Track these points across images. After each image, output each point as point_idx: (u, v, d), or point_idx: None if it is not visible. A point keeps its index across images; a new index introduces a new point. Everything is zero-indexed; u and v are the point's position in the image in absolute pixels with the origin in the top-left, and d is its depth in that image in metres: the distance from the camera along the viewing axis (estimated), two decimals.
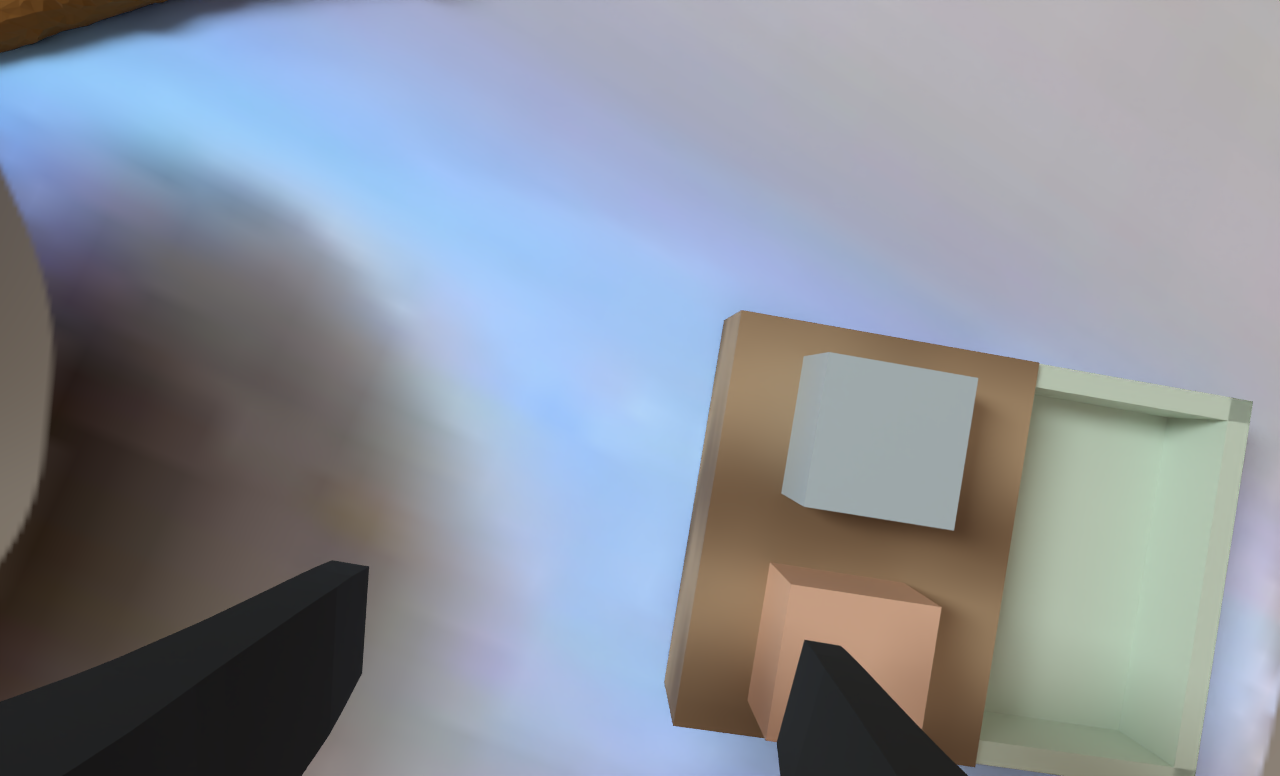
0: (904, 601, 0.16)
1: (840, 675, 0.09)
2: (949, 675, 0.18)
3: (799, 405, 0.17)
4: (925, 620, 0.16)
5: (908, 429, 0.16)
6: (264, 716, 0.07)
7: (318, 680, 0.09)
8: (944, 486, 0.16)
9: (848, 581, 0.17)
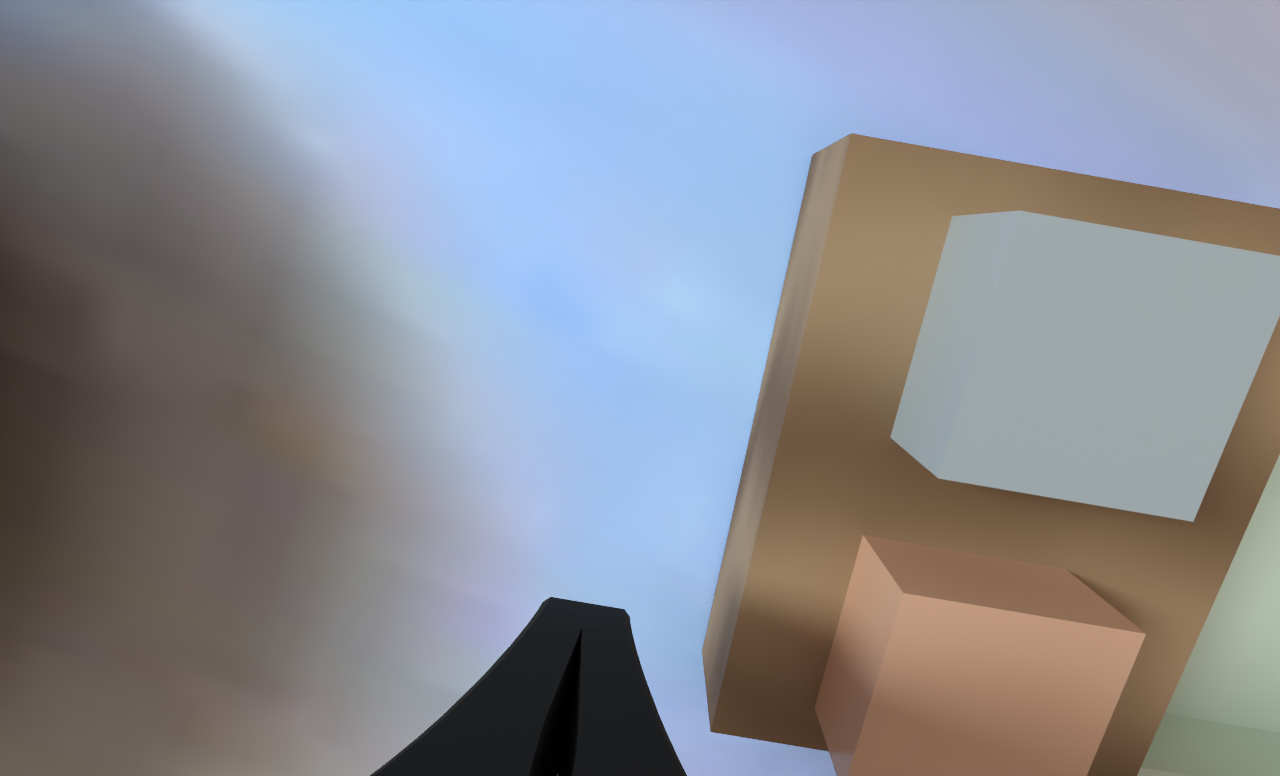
0: (1085, 622, 0.10)
1: (594, 634, 0.09)
2: None
3: (937, 301, 0.10)
4: (1115, 651, 0.10)
5: (1146, 354, 0.09)
6: (547, 763, 0.07)
7: (563, 721, 0.09)
8: (1193, 450, 0.09)
9: (986, 574, 0.11)
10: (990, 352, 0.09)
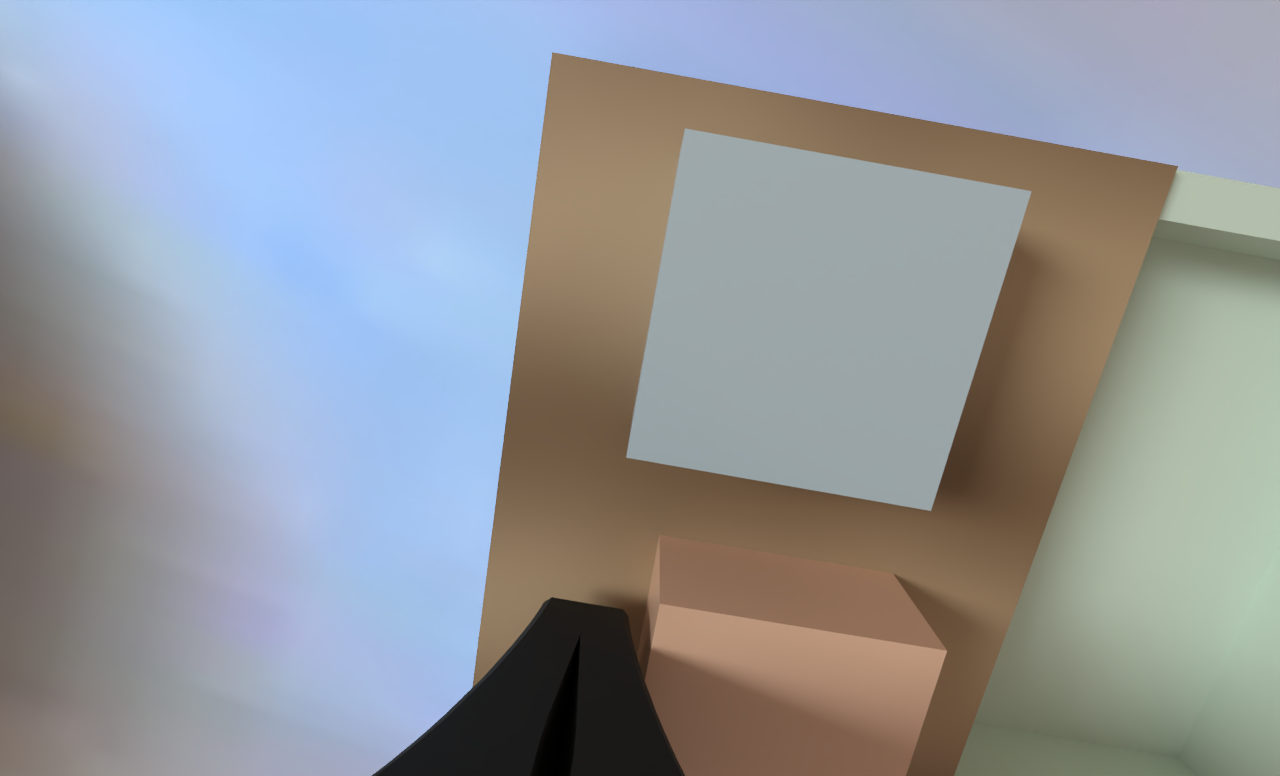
0: (876, 637, 0.08)
1: (592, 634, 0.09)
2: None
3: None
4: (913, 671, 0.08)
5: (855, 307, 0.07)
6: (548, 763, 0.07)
7: (564, 721, 0.09)
8: (921, 425, 0.08)
9: (786, 580, 0.09)
10: (669, 304, 0.07)
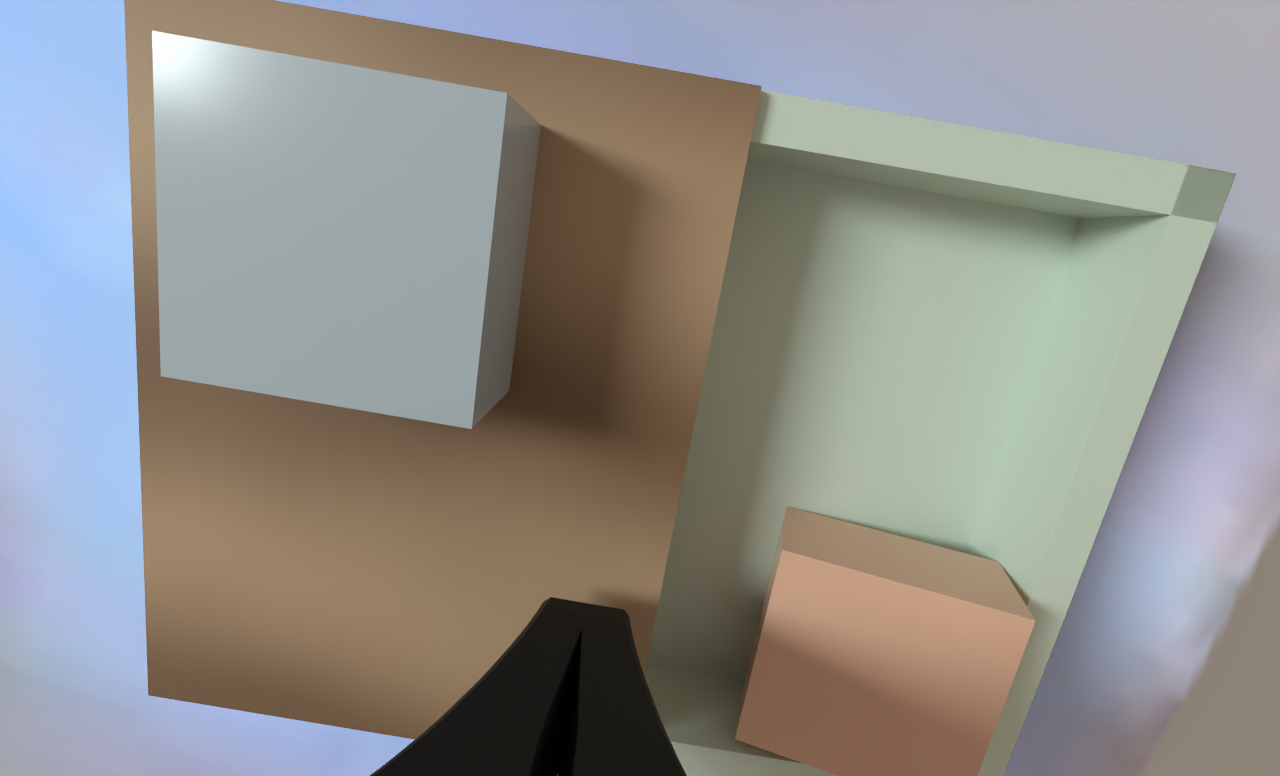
0: (835, 520, 0.12)
1: (594, 634, 0.09)
2: None
3: None
4: None
5: (356, 217, 0.07)
6: (547, 763, 0.07)
7: (563, 721, 0.09)
8: (445, 340, 0.08)
9: (897, 560, 0.11)
10: (172, 215, 0.07)
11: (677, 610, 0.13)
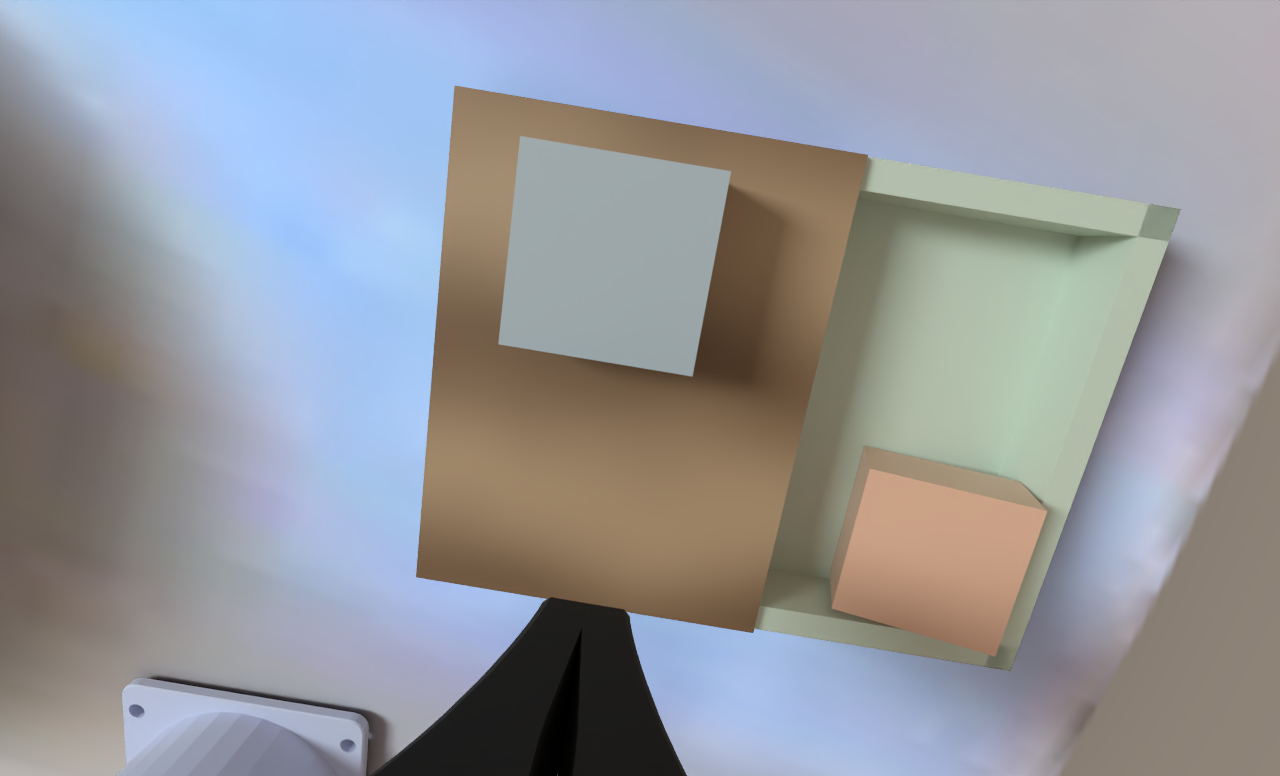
0: (900, 454, 0.17)
1: (594, 634, 0.09)
2: (726, 540, 0.15)
3: None
4: None
5: (632, 245, 0.12)
6: (547, 762, 0.07)
7: (563, 720, 0.09)
8: (680, 320, 0.12)
9: (949, 477, 0.15)
10: (518, 244, 0.12)
11: (780, 524, 0.18)
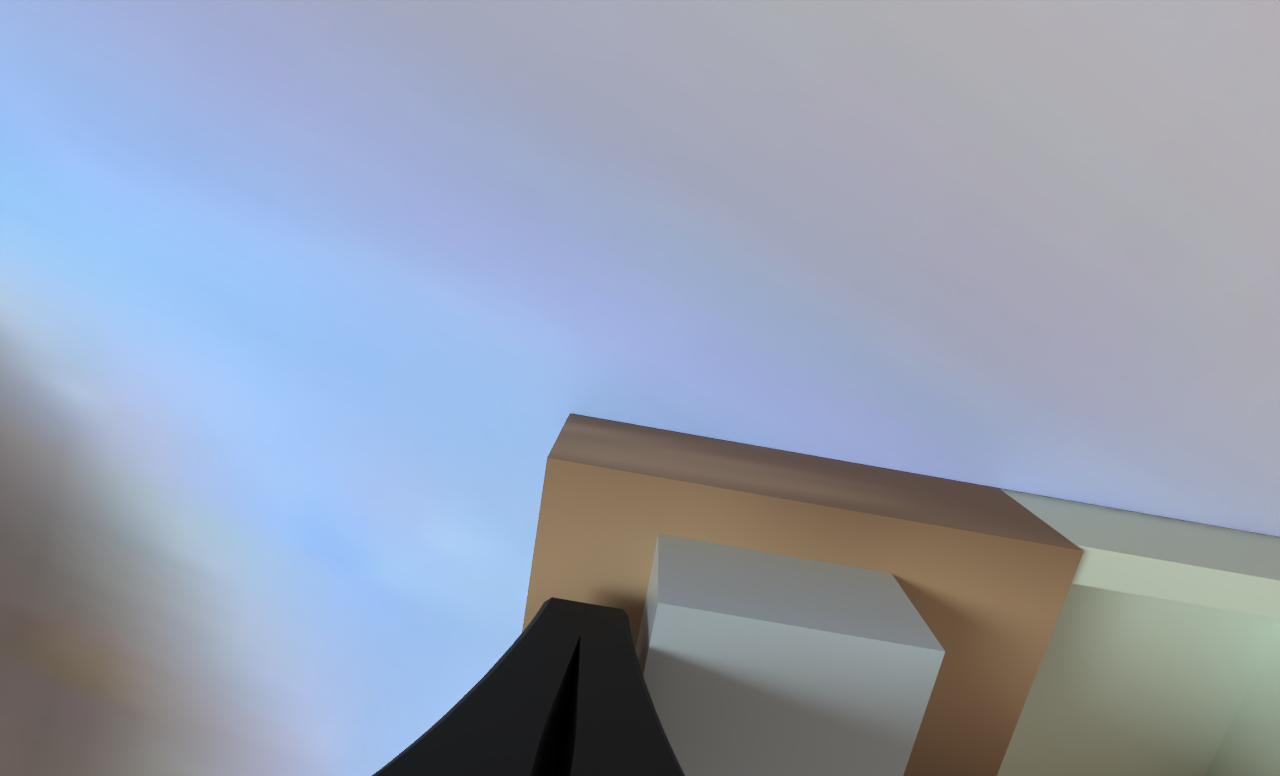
0: None
1: (592, 633, 0.09)
2: None
3: (643, 619, 0.10)
4: None
5: (801, 729, 0.09)
6: (548, 763, 0.07)
7: (564, 721, 0.09)
8: None
9: None
10: None
11: None
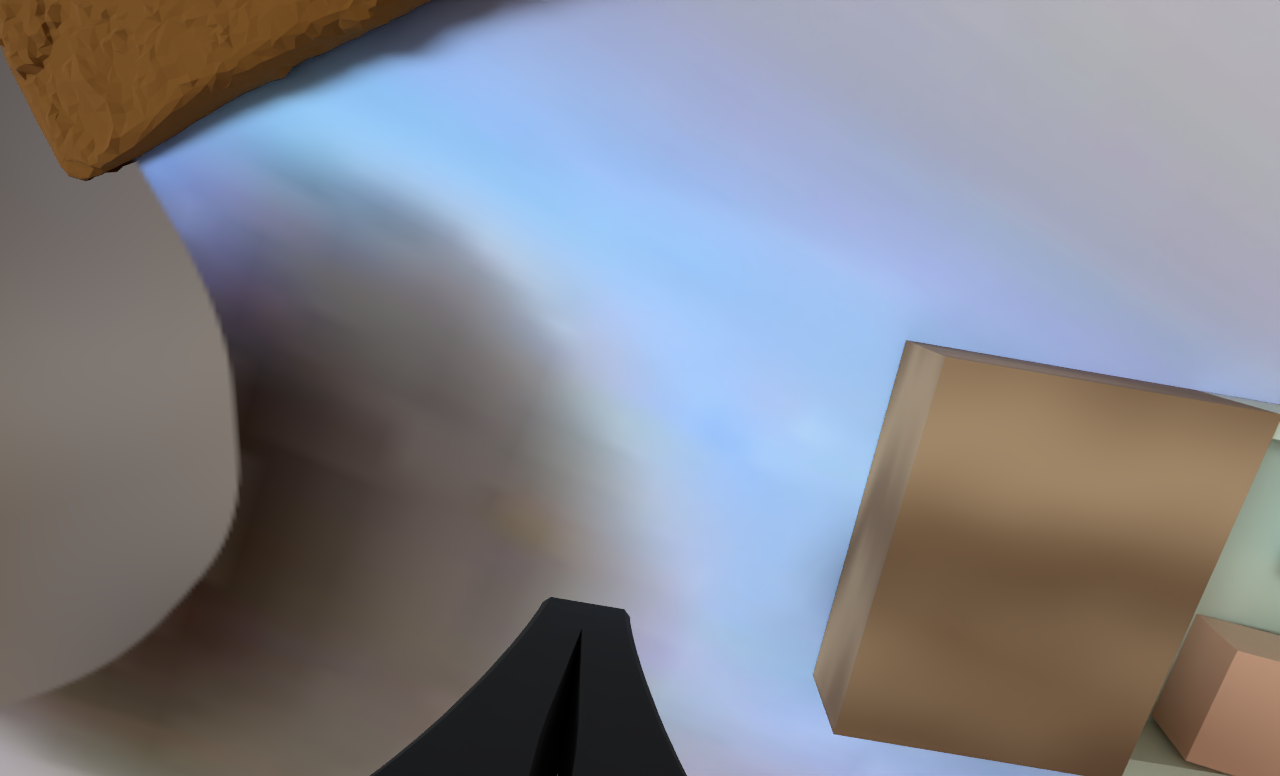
0: (1232, 623, 0.20)
1: (594, 634, 0.09)
2: (1109, 707, 0.18)
3: None
4: None
5: None
6: (547, 763, 0.07)
7: (563, 721, 0.09)
8: None
9: None
10: None
11: None
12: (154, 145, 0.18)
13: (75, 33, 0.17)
